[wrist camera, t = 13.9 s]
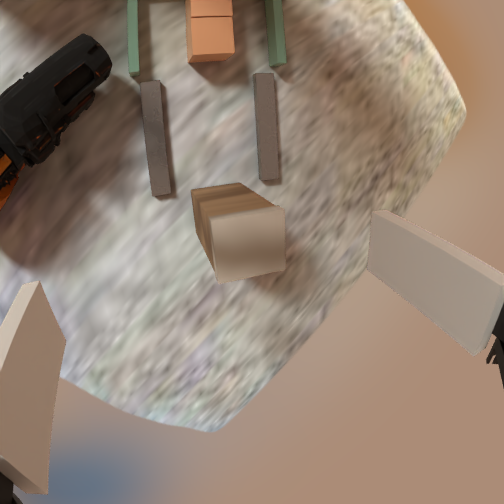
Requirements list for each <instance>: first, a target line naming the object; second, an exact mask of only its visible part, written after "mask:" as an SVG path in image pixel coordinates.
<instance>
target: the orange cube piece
mask: <svg viewBox="0 0 504 504" xmlns="http://www.w3.org/2000/svg"><path fill="white" fill-rule="evenodd" d="M185 9H186V28H187V26H188V23H189V21H190V19H191V18H206V17H232V16H233V12H232V0H185Z"/></svg>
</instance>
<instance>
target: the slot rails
mask: <svg viewBox="0 0 504 504" xmlns="http://www.w3.org/2000/svg"><path fill="white" fill-rule="evenodd" d="M253 84H254V100H255V116H256V132H257V149H258V166H259V179H260V180H271V179H279V166H278V144H277V125H276V106H275V90H274V74H273V73H255V74H253ZM140 87H141V100H142V112H143V123H144V133H145V143H146V151H147V160H148V168H149V175H150V183H151V190H152V196H158V195H164V194H170V193H171V188H170V180H169V172H168V163H167V154H166V145H165V135H164V124H163V113H162V101H161V88H160V80H155V81H148V82H141V83H140Z"/></svg>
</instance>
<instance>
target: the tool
mask: <svg viewBox="0 0 504 504" xmlns="http://www.w3.org/2000/svg"><path fill="white" fill-rule="evenodd" d="M111 67H112V62H111V60H110V57H109V55H108V54H107V52H106V51H105V50H104V48H103V47H102V46H101V45H100V44H99V43H98V42H97V41H96V40H95V39H93V38H92V37H91V36H88V35H86V34H81V35H80V36H78V37H77V38H75V39H74V40H72V41H71V42H69V43H68V44H67V45H65V46H64V47H62V48H61V49H60V50H58V51H57V52H56V53H54V54H53V55H52V56H50V57H49V58H48V59H46V60H45V61H44V62H43V63H41V64H40V65H39V66H38V67H36V68H35V69H34V70H33V71H32V72H30V73H28V72H26V73H25V74H24V75H23V77H24V78H23V79H19V80H18V81H17V82H16V83H14V84H13V85H12V86H10V87H9V88H7V89H6V90H5V91H4V92H3V93H2V94H1V95H0V211H1V209H2V207H3V205H4V204H5V202H6V201H7V199H8V198H9V195H10V194H11V192H12V190H13V188H14V186H15V184H16V182H17V180H18V178H19V177H18V173H19V172H20V171H21V170H22V169H23V167H24V166H25V165H26V164H27V165H28V166H29V167H33V166H34V164H39V163H41V162H43V161H44V160H45V159H46V158H47V157H48V156H49V155H50V154H51V153H52V152H53V151H54V148H55V146H54V145H56V146H58V145H59V144H60V135H61V132H64V131H65V129H66V128H67V127H68V126H69V124H70V123H71V122H73V121H75V120H76V119H77V118H78V117H79V114H80V113H81V112H82V111H83V110H87V109H88V108H89V106H90V105H91V104H92V102H93V99H94V96H95V94H94V92H93V90H94V89H95V88H96V87H97V86H99V85H100V84H101V83H102V82H104V81H105V80H106V79H107V78H108V77H109V74H110V71H111Z"/></svg>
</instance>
